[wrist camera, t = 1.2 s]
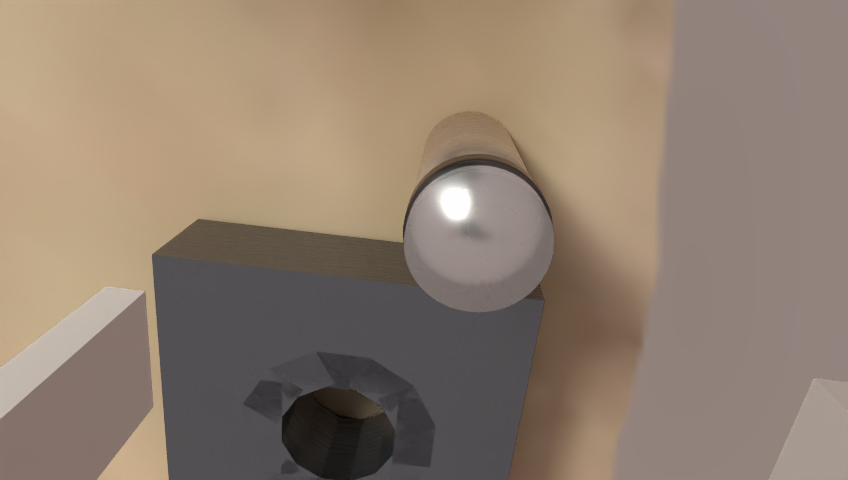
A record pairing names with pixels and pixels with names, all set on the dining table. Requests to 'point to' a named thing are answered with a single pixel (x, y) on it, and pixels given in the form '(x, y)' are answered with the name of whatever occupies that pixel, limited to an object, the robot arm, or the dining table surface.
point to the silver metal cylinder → (476, 218)
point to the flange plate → (329, 361)
